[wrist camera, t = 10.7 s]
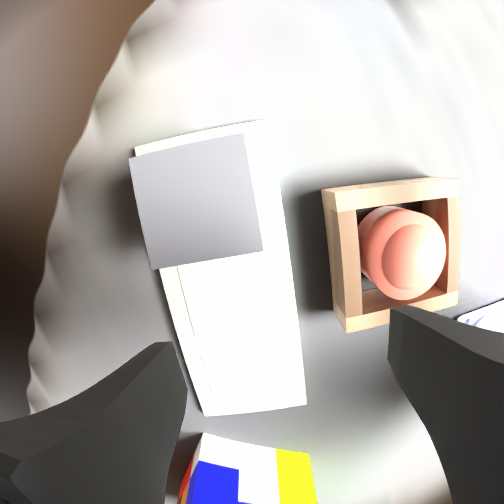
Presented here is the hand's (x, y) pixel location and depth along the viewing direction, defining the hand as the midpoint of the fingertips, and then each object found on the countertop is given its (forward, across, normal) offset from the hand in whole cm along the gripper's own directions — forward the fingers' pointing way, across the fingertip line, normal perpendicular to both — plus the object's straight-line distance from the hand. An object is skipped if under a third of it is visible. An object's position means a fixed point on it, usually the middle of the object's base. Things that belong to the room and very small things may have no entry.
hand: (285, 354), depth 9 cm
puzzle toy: (+10, +6, +21) cm, 24 cm away
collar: (+10, -8, 0) cm, 13 cm away
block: (+9, +3, -5) cm, 11 cm away
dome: (+10, -8, 0) cm, 12 cm away
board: (+10, +3, +1) cm, 10 cm away
